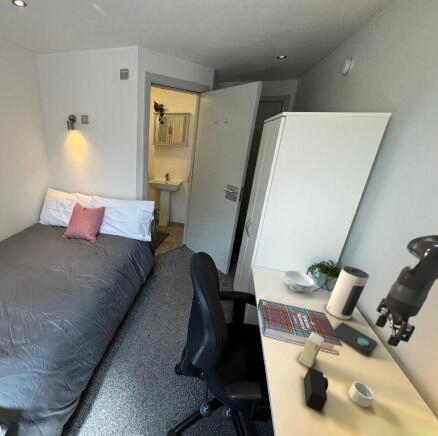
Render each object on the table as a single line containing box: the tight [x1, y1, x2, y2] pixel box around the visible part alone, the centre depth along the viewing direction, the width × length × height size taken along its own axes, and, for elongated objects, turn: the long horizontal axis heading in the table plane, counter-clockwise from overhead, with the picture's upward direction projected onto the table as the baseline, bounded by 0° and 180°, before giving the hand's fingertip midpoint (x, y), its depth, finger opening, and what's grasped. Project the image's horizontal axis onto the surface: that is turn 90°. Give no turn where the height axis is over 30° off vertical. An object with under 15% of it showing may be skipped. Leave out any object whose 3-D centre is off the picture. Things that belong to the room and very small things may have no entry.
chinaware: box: [284, 270, 315, 293], centre depth 138 cm, size 15×15×8 cm
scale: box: [333, 321, 377, 357], centre depth 105 cm, size 13×13×3 cm
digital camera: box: [303, 367, 329, 413], centre depth 80 cm, size 10×5×7 cm, turn 151°
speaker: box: [325, 265, 370, 321], centre depth 117 cm, size 11×10×26 cm
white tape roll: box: [348, 380, 376, 408], centre depth 80 cm, size 6×6×5 cm
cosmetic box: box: [298, 331, 325, 368], centre depth 92 cm, size 6×4×12 cm
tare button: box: [357, 338, 369, 347], centre depth 100 cm, size 4×4×2 cm
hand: (384, 335), depth 78 cm, fingers open, 8 cm apart
